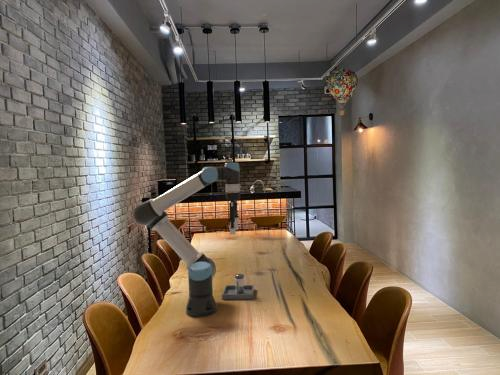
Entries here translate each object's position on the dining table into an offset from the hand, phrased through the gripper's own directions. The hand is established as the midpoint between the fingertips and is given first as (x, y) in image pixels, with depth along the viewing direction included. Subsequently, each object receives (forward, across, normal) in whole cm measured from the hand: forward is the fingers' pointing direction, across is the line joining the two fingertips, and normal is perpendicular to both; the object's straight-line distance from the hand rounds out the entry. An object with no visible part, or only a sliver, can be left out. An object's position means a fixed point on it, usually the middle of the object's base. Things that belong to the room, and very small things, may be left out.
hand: (234, 232), depth 195 cm
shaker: (+36, +10, -1) cm, 37 cm away
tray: (+37, +9, -1) cm, 38 cm away
